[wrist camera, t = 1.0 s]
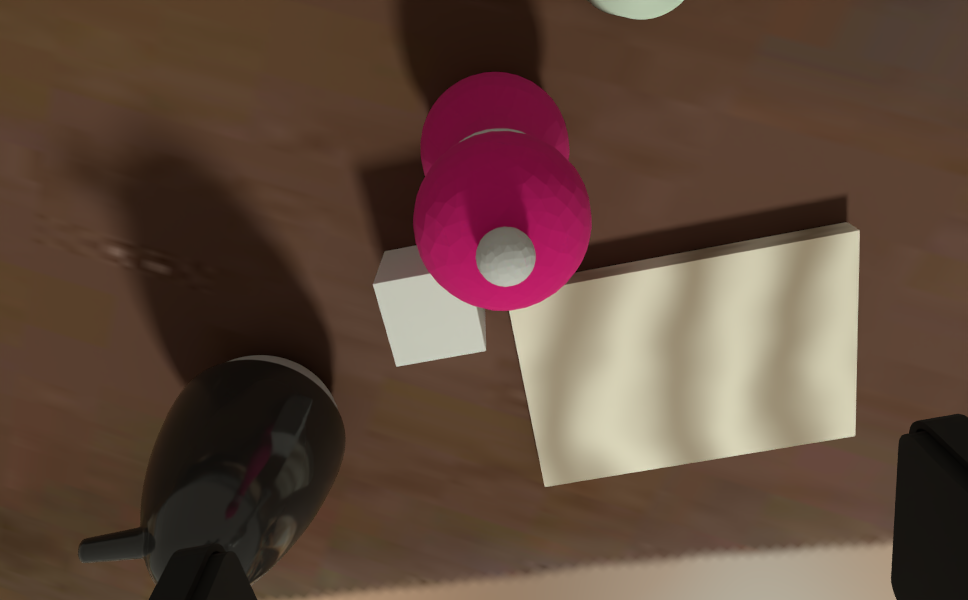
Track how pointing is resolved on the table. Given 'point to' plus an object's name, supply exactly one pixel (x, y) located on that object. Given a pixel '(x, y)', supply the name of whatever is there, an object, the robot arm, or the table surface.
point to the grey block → (424, 312)
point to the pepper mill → (499, 194)
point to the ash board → (694, 355)
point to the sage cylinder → (636, 7)
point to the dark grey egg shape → (235, 467)
